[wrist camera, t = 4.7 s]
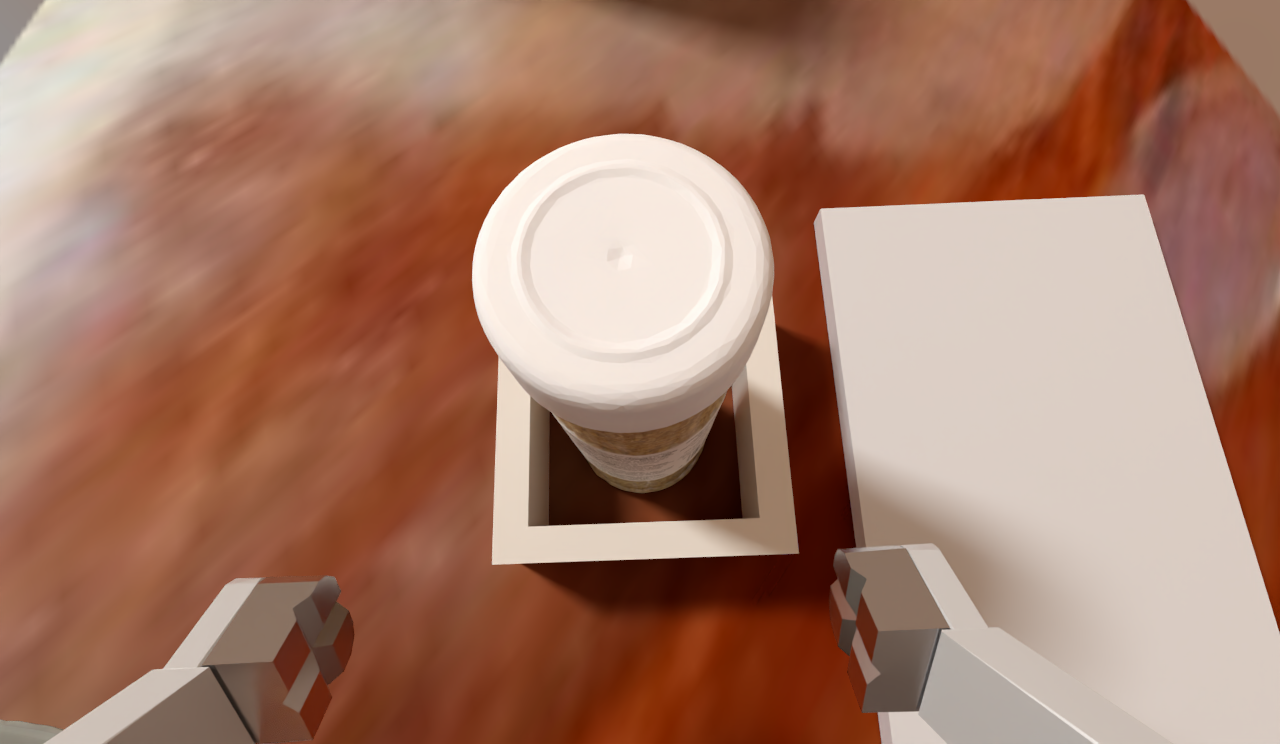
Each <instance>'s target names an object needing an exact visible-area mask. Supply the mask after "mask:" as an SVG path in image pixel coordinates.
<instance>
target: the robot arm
mask: <svg viewBox="0 0 1280 744" xmlns="http://www.w3.org/2000/svg"><path fill="white" fill-rule="evenodd" d="M833 568H834V570H835V573H836V575H837V578H838V579H837V580H836V581H835V582H834V583H833V584H832V585H831V586H830V594H829V611H830V620H831V625H832V629H833V633H834V636H835V639H836V642H837V645H838V647H839V648H840V649H842V650H843V651H844V652H845V653H846V654H848V655H849V656H850V657H849V664H848V670H847V673H848V676H849V679H850V682H851V684H852V687H853V690H854V693H855V696H856V698H857V701H858V704H859V707H860V709H861V712H862V713H868V712H915V711H919V713H918V715H919V716H920V717H921V718H922V719H923V720H924V721H925V722H926V723H927V724H928V725H929V726H930V727H931V728H932V729H933V730H934V731H935V732H936V733H937V734H938V735H939V736H940V737H941V738H942V739H943V740H944V741H945V742H946V743H947V744H1173V743H1172V742H1170V741H1169V740H1167V739H1166V738H1164V737H1163V736H1161V735H1160V734H1158V733H1157V732H1155V731H1154V730H1152V729H1151V728H1149V727H1148V726H1146V725H1145V724H1143V723H1142V722H1140V721H1139V720H1137V719H1136V718H1134V717H1133V716H1131V715H1130V714H1128V713H1127V712H1125V711H1124V710H1122V709H1121V708H1119V707H1118V706H1116V705H1115V704H1113V703H1112V702H1110V701H1109V700H1107V699H1106V698H1104V697H1103V696H1101V695H1100V694H1098V693H1097V692H1095V691H1094V690H1092V689H1091V688H1089V687H1088V686H1086V685H1085V684H1083V683H1082V682H1080V681H1079V680H1077V679H1076V678H1074V677H1073V676H1071V675H1070V674H1068V673H1067V672H1065V671H1064V670H1062V669H1061V668H1059V667H1058V666H1056V665H1055V664H1053V663H1052V662H1050V661H1049V660H1047V659H1046V658H1044V657H1043V656H1041V655H1040V654H1038V653H1037V652H1035V651H1034V650H1032V649H1031V648H1029V647H1028V646H1026V645H1025V644H1023V643H1022V642H1020V641H1019V640H1017V639H1016V638H1014V637H1013V636H1011V635H1010V634H1008V633H1007V632H1005V631H1004V630H1002V629H1001V628H999V627H991V628H989V627H988V625H987V624H986V622H985V621H984V619H983V617H982V616H981V614H980V613H979V611H978V610H977V608H976V606H975V605H974V603H973V602H972V600H971V598H970V597H969V595H968V594H967V592H966V591H965V589H964V587H963V586H962V584H961V583H960V581H959V579H958V578H957V576H956V575H955V573H954V571H953V570H952V568H951V567H950V565H949V564H948V562H947V560H946V559H945V557H944V556H943V554H942V552H941V551H940V549H939V548H938V547H937V546H935V545H934V544H933V543H929V544H912V545H901V546H897V545H895V546H878V547H862V548H846V549H838V550H837V552H836V554H835V558H834V564H833ZM340 593H341V590H340V588H339V586H338V584H337V581H336V579H335V577H332V576H287V577H266V578H236V579H234V580H233V581H231V582H229V583H228V584H226V585H225V586H224V588H223V589H222V590H221V592H220V593H219V594H218V596H217V597H216V598H215V600H214V601H213V602H212V604H211V605H210V606H209V608H208V609H207V610H206V612H205V613H204V614H203V616H202V617H201V618H200V620H199V621H198V623H197V624H196V625H195V627H194V628H193V629H192V631H191V632H190V633H189V635H188V636H187V637H186V639H185V640H184V641H183V643H182V644H181V645H180V647H179V648H178V649H177V651H176V652H175V653H174V655H173V656H172V658H171V659H170V660H169V662H168V663H167V664H166V666H165V667H164V668H163V669H155V670H152V671H150V672H149V673H147V674H146V675H144V676H143V677H141V678H140V679H138V680H137V681H135V682H134V683H132V684H131V685H129V686H128V687H126V688H125V689H124V690H122V691H121V692H119V693H118V694H116V695H115V696H113V697H112V698H110V699H109V700H107V701H106V702H104V703H103V704H101V705H100V706H98V707H97V708H95V709H94V710H93V711H91V712H90V713H88V714H87V715H85V716H84V717H82V718H81V719H79V720H78V721H76V722H75V723H73V724H72V725H70V726H69V727H67V728H66V729H65V730H63V731H62V732H60V733H59V734H57V735H56V736H54V737H53V738H51V739H50V740H48V741H47V742H45V743H44V744H266V743H278V742H291V741H304V740H313V739H314V736H315V734H316V732H317V730H318V728H319V725H320V723H321V721H322V719H323V717H324V714H325V712H326V710H327V708H328V706H329V703H330V701H331V699H332V696H331V693H330V689H329V686H328V685H329V684H330V683H331V682H332V681H333V680H334V679H336V678H337V677H338V676H339V675H340V674H341V673H342V672H344V670H345V667H346V665H347V663H348V660H349V658H350V656H351V652H352V646H353V640H354V628H353V620H352V618H351V615H350V612H349V610H347V609H346V608H344V607H343V606H341V605H340V604H339V603H337V602H336V601H337V599H338V597H339V595H340Z"/></svg>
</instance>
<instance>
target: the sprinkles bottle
mask: <svg viewBox="0 0 1280 744" xmlns="http://www.w3.org/2000/svg"><path fill="white" fill-rule="evenodd" d="M773 282H774V260H773V254H772V248H771V242H770V237H769V234H768V231H767V228H766V225H765V223H764V220H763V218H762V216H761V214H760V212H759V210H758V208H757V206H756V204H755V203H754V201H753V200H752V198H751V197H750V195H749V194H748V193H747V191H746V190H745V188H744V187H743V186H742V185H741V184H740V183H739V181H738V180H737V179H736V178H735V177H734V176H733V175H732V174H730V173H729V172H728V171H727V170H726V169H725V168H723V167H722V166H721V165H719V164H718V163H717V162H715V161H714V160H712V159H711V158H710V157H708V156H706V155H704V154H702V153H701V152H699V151H697V150H695V149H693V148H690V147H688V146H686V145H684V144H681V143H678V142H675V141H672V140H668V139H664V138H659V137H654V136H649V135H643V134H613V135H605V136H598V137H592V138H588V139H584V140H580V141H577V142H574V143H571V144H569V145H566V146H563V147H561V148H559V149H557V150H555V151H553V152H551V153H549V154H547V155H545V156H544V157H542V158H540V159H539V160H537V161H535V162H534V163H532V164H531V165H530V166H528V167H527V168H526V169H525V170H523V171H522V172H521V173H520V174H519V175H518V176H517V177H516V178H515V179H514V180H513V181H512V182H511V183H510V184H509V185H508V186H507V187H506V188H505V189H504V190H503V192H502V193H501V195H500V196H499V197H498V199H497V200H496V202H495V203H494V204H493V206H492V207H491V209H490V211H489V213H488V215H487V217H486V219H485V221H484V223H483V225H482V228H481V231H480V233H479V236H478V239H477V243H476V246H475V252H474V257H473V269H472V285H473V294H474V301H475V306H476V310H477V314H478V317H479V320H480V322H481V325H482V327H483V330H484V332H485V334H486V336H487V338H488V340H489V342H490V343H491V345H492V347H493V348H494V350H495V351H496V353H497V354H498V356H499V358H500V359H501V360H502V362H503V363H504V364H505V366H506V367H507V368H508V370H509V371H510V372H511V374H512V375H513V376H514V378H515V379H516V380H517V382H518V383H519V384H520V385H521V386H522V388H523V389H524V390H525V391H526V392H527V393H528V394H529V395H530V396H531V397H532V398H533V399H534V400H535V401H536V402H537V403H539V404H540V405H541V406H543V407H544V408H546V409H547V410H549V411H550V412H551V413H552V414H553V415H554V417H555V418H556V419H557V421H558V422H559V423H560V425H561V426H562V427H563V429H564V430H565V432H566V433H567V434H568V436H569V437H570V438H571V440H572V441H573V442H574V444H575V445H576V446H577V447H578V449H579V450H580V451H581V453H582V454H583V455H584V456H585V459H586V460H587V462H588V463H589V464H590V466H591V467H592V469H593V471H594V472H595V473H596V474H597V476H599V477H600V478H602V479H604V480H605V481H607V482H608V483H609V484H610V485H612V486H614V487H616V488H619V489H621V490H624V491H629V492H635V493H648V492H654V491H659V490H662V489H665V488H668V487H670V486H672V485H674V484H675V483H677V482H678V481H680V480H681V479H682V478H684V477H685V476H686V475H687V474H688V473H689V472H690V471H691V469H692V468H693V466H694V465H695V464H696V462H697V461H698V459H699V456H700V454H701V453H702V450H703V447H704V444H705V440H706V438H707V436H708V434H709V432H710V429H711V427H712V425H713V422H714V420H715V417H716V415H717V413H718V410H719V408H720V406H721V404H722V402H723V400H724V398H725V395H726V392H727V390H728V389H729V388H730V386H731V385H732V384H733V383H734V382H735V380H736V379H737V378H738V376H739V375H740V374H741V372H742V370H743V369H744V367H745V365H746V363H747V362H748V360H749V358H750V356H751V354H752V352H753V350H754V347H755V345H756V343H757V340H758V338H759V335H760V332H761V330H762V327H763V324H764V321H765V318H766V316H767V313H768V309H769V305H770V301H771V297H772V290H773Z"/></svg>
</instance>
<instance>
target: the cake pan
mask: <svg viewBox="0 0 1280 744" xmlns="http://www.w3.org/2000/svg"><path fill="white" fill-rule="evenodd" d="M62 731H63V729H59V728H56V727H52V726H46V725H39V724H33V723H27V722H22V721H4V720H0V744H44V743H45V742H47V741H48V740H50V739H51V738H53V737H54V736H56V735H57V734H59V733H60V732H62Z"/></svg>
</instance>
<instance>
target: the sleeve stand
mask: <svg viewBox="0 0 1280 744" xmlns="http://www.w3.org/2000/svg"><path fill="white" fill-rule="evenodd" d="M732 394H733V406H734V419H735V431H736V443H737V456H738V468H739V481H740V493H741V506H742V518H743V519H721V520H694V521H667V522H640V523H613V524H585V525H558V526H549V436H550V411H549V410H547V409H546V408H544V407H543V406H541V405H540V404H539V403H537V402H536V401H535V400H534V399H533V398H532V397H531V396H530V395H529V394H528V393H527V392H526V391H525V390H524V389H523V388H522V386H521V385H520V384H519V383H518V382H517V380H516V379H515V378H514V376H513V375H512V374H511V372H510V371H509V370H508V368H507V367H506V366H505V364H504V363H503V362H502V360H501V359H500V358H499V366H498V396H497V426H496V456H495V486H494V516H493V547H492V565H494V564H522V563H550V562H578V561H606V560H634V559H662V558H689V557H717V556H745V555H773V554H799V550H798V540H797V530H796V521H795V511H794V502H793V492H792V482H791V473H790V463H789V454H788V444H787V434H786V425H785V415H784V406H783V396H782V387H781V377H780V367H779V358H778V348H777V339H776V329H775V319H774V310H773V300H772V297H771V301H770V305H769V309H768V313H767V316H766V318H765V321H764V324H763V327H762V330H761V332H760V335H759V338H758V340H757V343H756V345H755V347H754V350H753V352H752V354H751V356H750V358H749V360H748V362H747V363H746V365H745V367H744V369H743V370H742V372H741V374H740V375H739V376H738V378H737V379H736V380H735V382H734V383H733V384H732Z"/></svg>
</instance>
